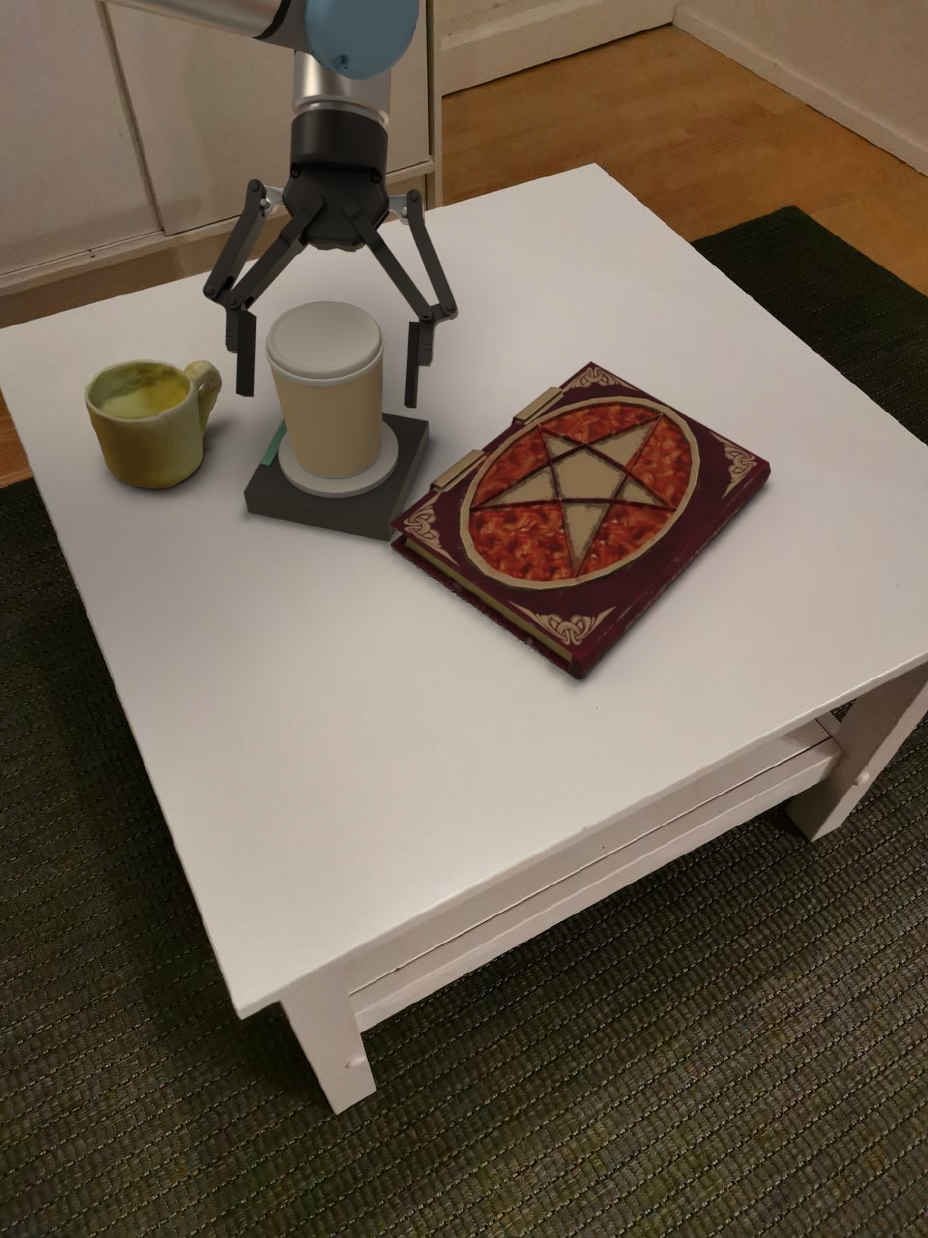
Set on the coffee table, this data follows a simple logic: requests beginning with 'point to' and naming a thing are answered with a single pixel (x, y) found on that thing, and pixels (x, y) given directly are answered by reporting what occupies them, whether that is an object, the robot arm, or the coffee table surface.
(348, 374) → the coffee cup
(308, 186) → the robot arm
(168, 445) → the mug
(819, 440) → the coffee table surface
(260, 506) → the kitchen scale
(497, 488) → the book
